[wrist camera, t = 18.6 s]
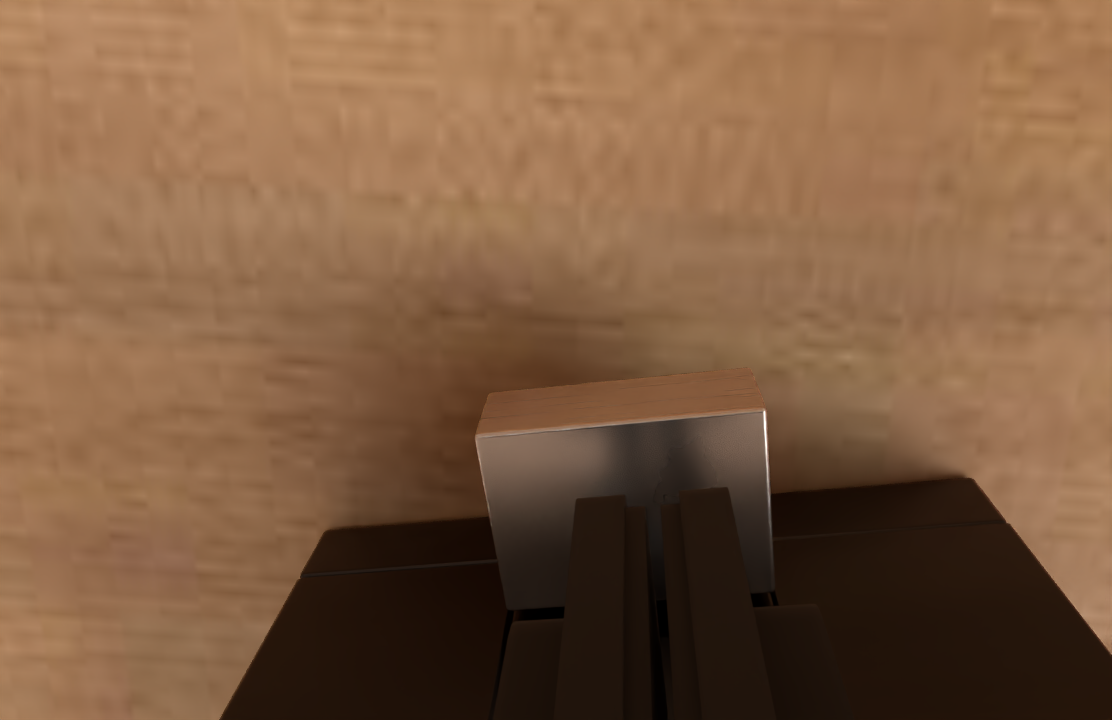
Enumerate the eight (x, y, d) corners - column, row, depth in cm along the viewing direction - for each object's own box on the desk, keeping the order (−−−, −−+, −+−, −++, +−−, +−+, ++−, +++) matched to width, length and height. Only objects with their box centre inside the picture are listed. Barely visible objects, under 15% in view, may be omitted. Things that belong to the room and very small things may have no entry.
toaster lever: (750, 365, 13) (767, 407, 11) (760, 536, 14) (776, 594, 13) (487, 391, 13) (472, 435, 12) (516, 555, 14) (506, 613, 13)
